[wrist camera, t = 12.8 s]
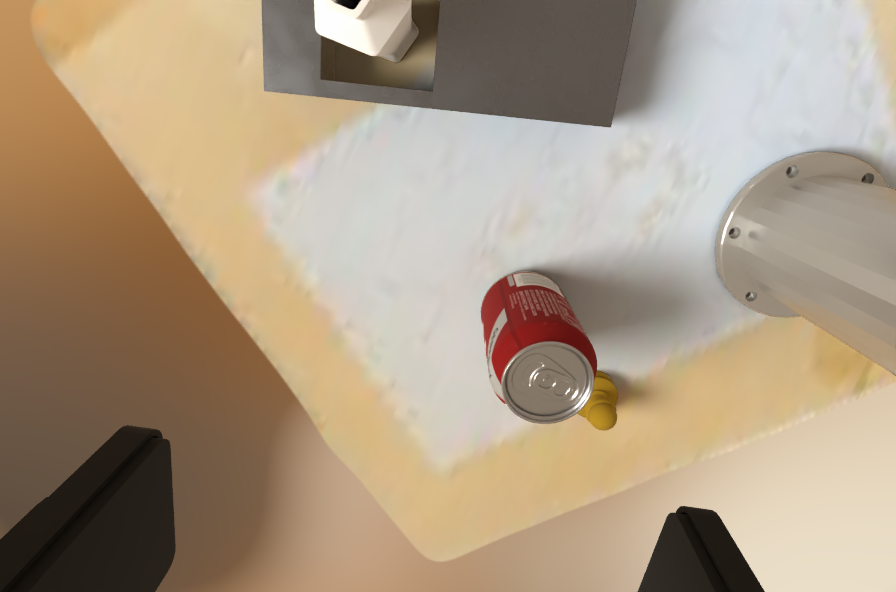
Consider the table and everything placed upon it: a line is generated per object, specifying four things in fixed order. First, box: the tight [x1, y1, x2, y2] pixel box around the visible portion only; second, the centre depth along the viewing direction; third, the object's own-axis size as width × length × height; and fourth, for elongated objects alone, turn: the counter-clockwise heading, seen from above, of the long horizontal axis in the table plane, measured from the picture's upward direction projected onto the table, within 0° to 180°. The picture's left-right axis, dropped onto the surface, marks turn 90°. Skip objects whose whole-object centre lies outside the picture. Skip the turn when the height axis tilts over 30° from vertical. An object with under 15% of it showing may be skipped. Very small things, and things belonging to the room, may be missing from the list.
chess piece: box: [578, 371, 618, 430], centre depth 43 cm, size 4×4×5 cm
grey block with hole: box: [262, 0, 636, 127], centre depth 33 cm, size 22×9×4 cm, turn 84°
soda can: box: [481, 271, 597, 424], centre depth 36 cm, size 7×7×12 cm
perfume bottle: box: [314, 0, 419, 63], centre depth 28 cm, size 5×4×15 cm
